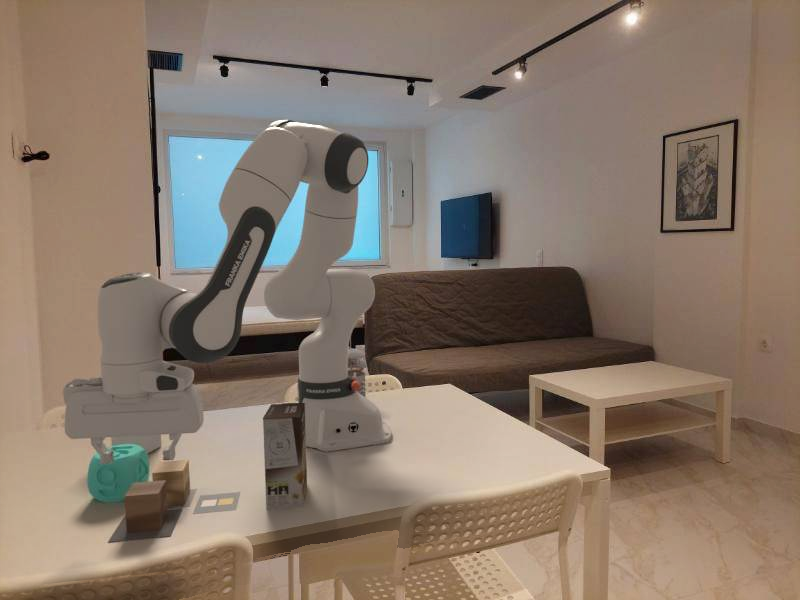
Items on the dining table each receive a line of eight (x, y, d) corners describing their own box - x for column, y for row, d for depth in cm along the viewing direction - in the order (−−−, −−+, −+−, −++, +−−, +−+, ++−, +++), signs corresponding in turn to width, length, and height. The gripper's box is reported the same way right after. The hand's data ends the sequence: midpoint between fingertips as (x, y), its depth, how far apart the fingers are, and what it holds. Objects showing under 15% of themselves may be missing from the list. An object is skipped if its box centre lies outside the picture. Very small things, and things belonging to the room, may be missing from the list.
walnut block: (160, 529, 89) (158, 493, 88) (126, 533, 88) (124, 496, 87) (167, 515, 94) (165, 480, 93) (135, 518, 93) (133, 482, 92)
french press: (330, 406, 156) (327, 316, 154) (341, 395, 168) (339, 311, 165) (364, 407, 155) (363, 317, 152) (373, 396, 166) (372, 311, 163)
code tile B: (197, 490, 104) (197, 488, 104) (189, 507, 97) (189, 506, 97) (156, 493, 103) (156, 492, 103) (146, 511, 96) (146, 509, 96)
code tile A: (240, 493, 102) (240, 491, 102) (236, 511, 95) (236, 509, 95) (200, 497, 101) (199, 495, 101) (192, 515, 94) (192, 513, 94)
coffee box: (303, 509, 96) (300, 417, 94) (265, 511, 95) (261, 418, 94) (307, 485, 105) (305, 401, 103) (273, 487, 105) (269, 403, 103)
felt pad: (182, 511, 96) (182, 508, 96) (170, 538, 87) (170, 535, 87) (125, 516, 94) (125, 514, 94) (108, 544, 85) (107, 541, 85)
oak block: (190, 491, 103) (188, 459, 102) (184, 504, 98) (182, 470, 97) (161, 494, 102) (159, 461, 101) (154, 506, 97) (152, 473, 96)
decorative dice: (150, 483, 107) (148, 442, 107) (136, 502, 99) (133, 458, 99) (106, 486, 106) (103, 444, 106) (88, 505, 99) (85, 461, 98)
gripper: (53, 384, 84) (60, 473, 86) (195, 379, 87) (199, 464, 89) (71, 374, 91) (77, 456, 92) (203, 369, 93) (207, 449, 95)
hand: (138, 460), depth 91 cm, fingers open, 8 cm apart
